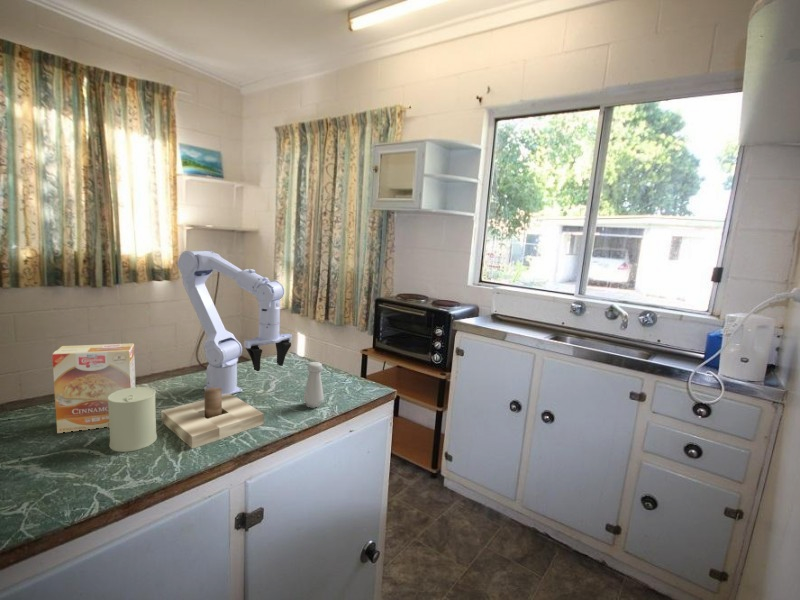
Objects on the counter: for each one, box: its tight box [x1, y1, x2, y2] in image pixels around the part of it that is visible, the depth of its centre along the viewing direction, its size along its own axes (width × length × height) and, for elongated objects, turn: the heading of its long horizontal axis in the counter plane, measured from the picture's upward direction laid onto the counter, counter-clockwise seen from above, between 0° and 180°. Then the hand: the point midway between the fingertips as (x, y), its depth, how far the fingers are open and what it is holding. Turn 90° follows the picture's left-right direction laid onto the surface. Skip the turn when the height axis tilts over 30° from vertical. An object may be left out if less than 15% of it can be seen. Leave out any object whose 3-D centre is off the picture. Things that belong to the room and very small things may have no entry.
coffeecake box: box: [52, 342, 136, 434], centre depth 99 cm, size 15×7×20 cm, turn 115°
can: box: [107, 386, 158, 453], centre depth 92 cm, size 9×9×12 cm
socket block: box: [160, 393, 265, 450], centre depth 104 cm, size 18×18×3 cm
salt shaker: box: [303, 361, 324, 409], centre depth 118 cm, size 6×6×13 cm
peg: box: [203, 387, 222, 419], centre depth 103 cm, size 4×4×9 cm
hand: (268, 367), depth 119 cm, fingers open, 7 cm apart
